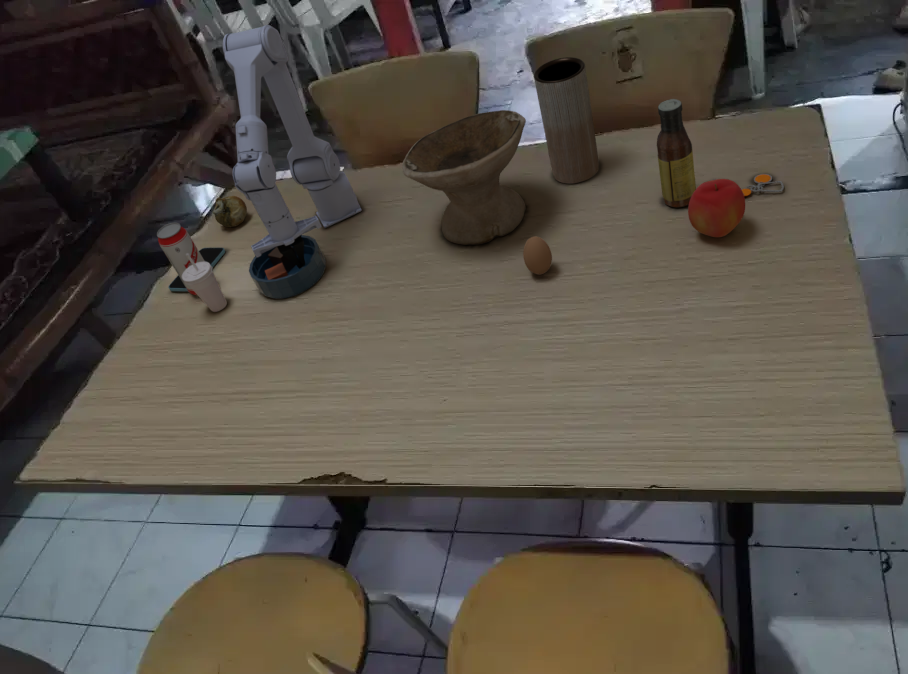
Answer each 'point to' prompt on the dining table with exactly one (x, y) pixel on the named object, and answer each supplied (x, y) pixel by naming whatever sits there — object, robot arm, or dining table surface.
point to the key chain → (761, 180)
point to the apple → (716, 207)
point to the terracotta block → (276, 272)
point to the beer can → (178, 248)
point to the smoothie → (204, 284)
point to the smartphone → (208, 255)
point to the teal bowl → (297, 277)
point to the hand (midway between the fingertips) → (303, 267)
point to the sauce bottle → (675, 156)
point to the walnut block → (281, 259)
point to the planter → (567, 119)
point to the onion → (230, 211)
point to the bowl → (471, 174)
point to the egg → (537, 255)
